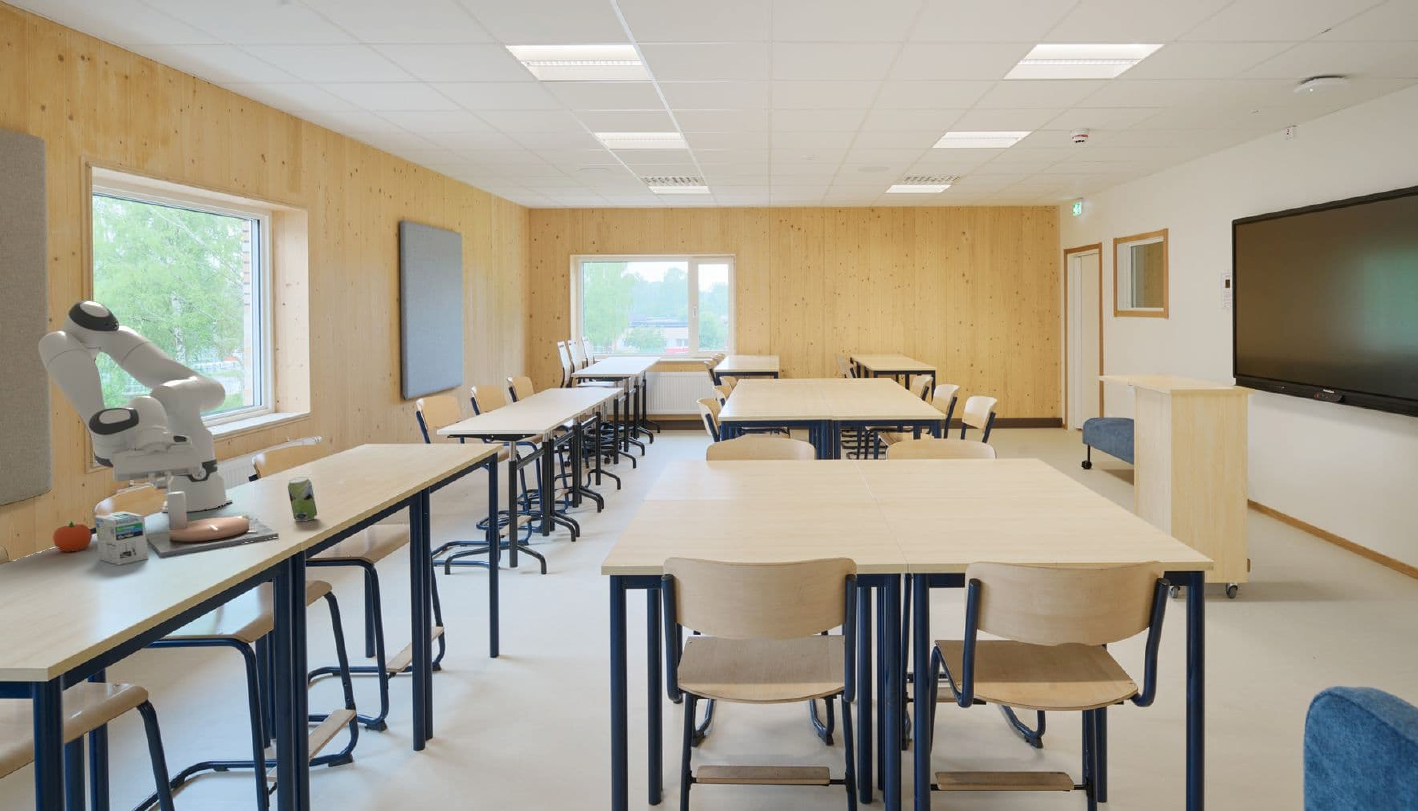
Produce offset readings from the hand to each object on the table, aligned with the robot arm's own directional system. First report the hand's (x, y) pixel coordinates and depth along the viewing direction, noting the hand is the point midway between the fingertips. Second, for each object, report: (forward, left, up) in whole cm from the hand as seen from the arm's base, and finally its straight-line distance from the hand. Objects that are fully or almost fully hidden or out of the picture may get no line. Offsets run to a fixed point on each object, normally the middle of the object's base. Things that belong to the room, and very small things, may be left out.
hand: (162, 488), depth 236 cm
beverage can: (+10, +32, -13) cm, 36 cm away
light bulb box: (+22, -12, -13) cm, 28 cm away
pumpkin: (+2, -20, -13) cm, 24 cm away
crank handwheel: (+14, +8, -11) cm, 19 cm away
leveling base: (+14, +8, -13) cm, 20 cm away
